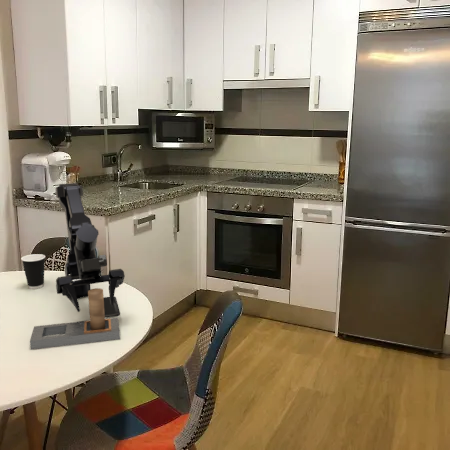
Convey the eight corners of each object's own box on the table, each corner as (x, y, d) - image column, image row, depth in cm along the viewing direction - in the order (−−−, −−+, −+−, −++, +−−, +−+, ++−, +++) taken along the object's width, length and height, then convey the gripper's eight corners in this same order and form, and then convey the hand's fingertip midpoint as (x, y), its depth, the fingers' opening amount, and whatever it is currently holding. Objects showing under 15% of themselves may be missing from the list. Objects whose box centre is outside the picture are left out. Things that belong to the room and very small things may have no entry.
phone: (93, 316, 144) (91, 298, 158) (94, 320, 145) (91, 301, 159) (120, 313, 147) (116, 295, 161) (120, 316, 147) (116, 299, 161)
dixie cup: (51, 286, 171) (49, 257, 169) (29, 292, 166) (26, 262, 164) (42, 281, 177) (39, 252, 174) (20, 286, 172) (17, 257, 169)
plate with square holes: (30, 349, 126) (29, 339, 125) (34, 334, 134) (33, 325, 134) (120, 339, 132) (119, 329, 131) (118, 325, 140) (118, 316, 140)
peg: (96, 330, 137) (93, 287, 134) (108, 332, 136) (105, 289, 133) (88, 336, 133) (84, 292, 130) (100, 338, 132) (97, 294, 129)
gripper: (53, 250, 131) (61, 302, 124) (121, 242, 139) (132, 290, 132) (53, 268, 140) (60, 318, 133) (117, 260, 148) (127, 306, 141)
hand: (95, 308), depth 134 cm, fingers open, 9 cm apart
